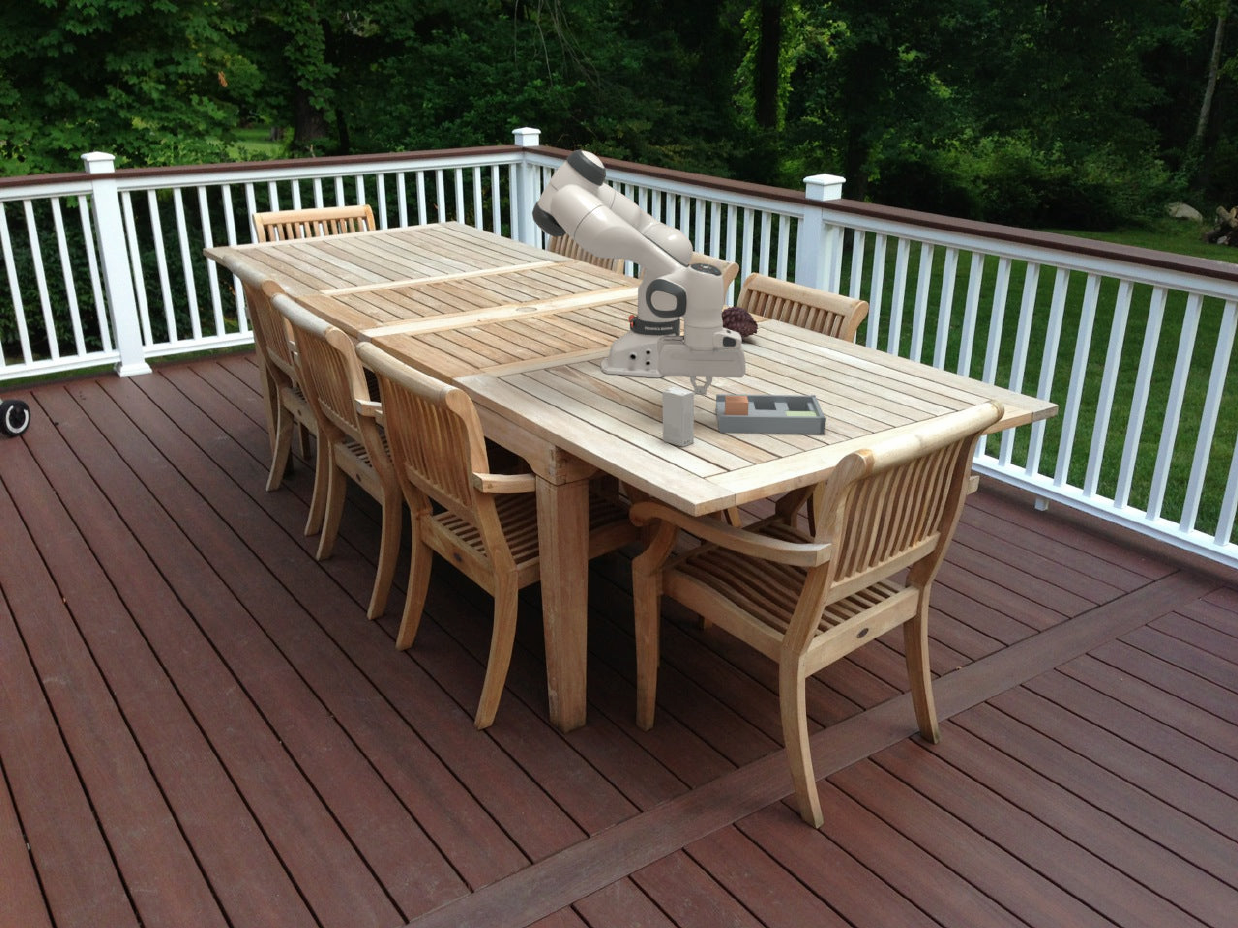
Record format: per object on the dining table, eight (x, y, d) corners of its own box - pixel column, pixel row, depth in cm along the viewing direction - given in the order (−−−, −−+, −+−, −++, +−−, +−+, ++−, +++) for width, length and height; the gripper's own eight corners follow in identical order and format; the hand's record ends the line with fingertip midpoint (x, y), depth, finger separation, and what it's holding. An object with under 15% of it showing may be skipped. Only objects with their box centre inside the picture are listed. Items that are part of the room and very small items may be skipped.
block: (726, 418, 253) (726, 402, 252) (724, 411, 258) (725, 395, 256) (747, 419, 253) (748, 402, 252) (745, 412, 258) (746, 396, 256)
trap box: (720, 432, 251) (720, 416, 250) (715, 409, 267) (716, 393, 266) (824, 434, 251) (825, 418, 250) (813, 410, 267) (815, 395, 265)
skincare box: (694, 443, 245) (696, 391, 241) (681, 448, 242) (683, 396, 238) (673, 436, 249) (675, 385, 245) (660, 441, 246) (661, 389, 241)
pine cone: (767, 344, 323) (769, 311, 320) (740, 348, 318) (742, 315, 315) (730, 331, 337) (732, 299, 334) (704, 335, 332) (705, 303, 329)
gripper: (657, 338, 246) (655, 397, 251) (748, 340, 245) (744, 399, 250) (657, 331, 252) (655, 389, 257) (746, 333, 251) (742, 391, 256)
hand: (700, 394), depth 254 cm, fingers closed
